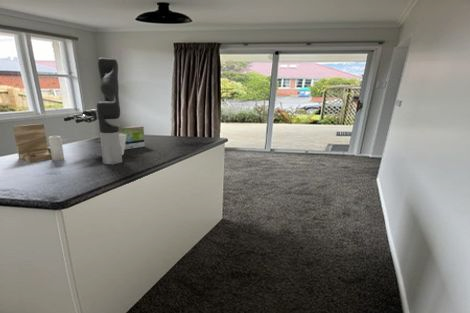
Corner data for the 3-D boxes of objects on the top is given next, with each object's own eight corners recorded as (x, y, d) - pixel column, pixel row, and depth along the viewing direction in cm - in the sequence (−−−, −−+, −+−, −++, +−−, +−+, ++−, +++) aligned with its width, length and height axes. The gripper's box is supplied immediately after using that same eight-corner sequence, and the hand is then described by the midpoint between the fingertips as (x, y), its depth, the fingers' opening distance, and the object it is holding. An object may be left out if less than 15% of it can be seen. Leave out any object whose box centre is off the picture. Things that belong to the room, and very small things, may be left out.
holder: (59, 156, 144) (55, 126, 139) (31, 162, 132) (25, 129, 128) (47, 153, 151) (42, 123, 146) (19, 158, 139) (12, 126, 134)
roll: (66, 159, 141) (62, 136, 137) (55, 161, 136) (51, 137, 132) (60, 157, 143) (57, 135, 140) (50, 159, 138) (46, 136, 135)
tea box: (125, 150, 165) (123, 128, 161) (117, 147, 171) (115, 126, 167) (145, 146, 177) (143, 126, 173) (137, 144, 183) (135, 124, 179)
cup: (120, 157, 147) (118, 137, 144) (102, 156, 149) (100, 135, 146) (131, 153, 159) (130, 134, 155) (115, 151, 161) (113, 132, 157)
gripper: (82, 108, 158) (59, 112, 143) (101, 110, 154) (78, 115, 140) (84, 120, 161) (61, 125, 146) (102, 122, 157) (81, 128, 142)
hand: (70, 120), depth 143 cm, fingers open, 8 cm apart
